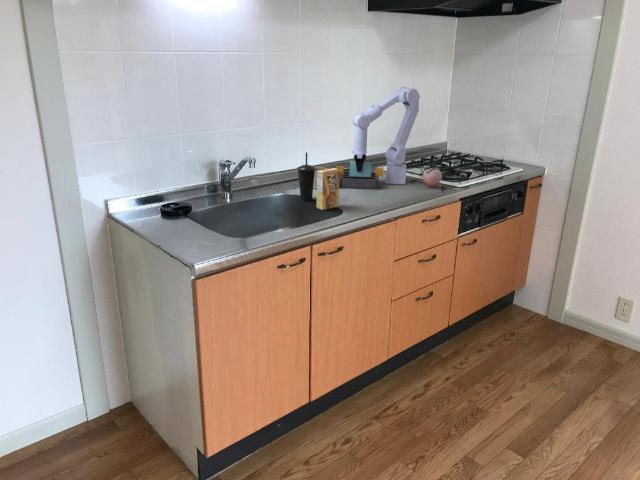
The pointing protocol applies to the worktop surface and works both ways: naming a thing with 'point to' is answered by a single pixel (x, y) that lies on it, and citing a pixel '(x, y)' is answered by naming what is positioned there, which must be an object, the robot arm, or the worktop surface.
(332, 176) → the candy box
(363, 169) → the block
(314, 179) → the flower pot
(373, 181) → the rack
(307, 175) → the drinking cup
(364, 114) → the robot arm
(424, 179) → the decorative fruit
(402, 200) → the worktop surface
